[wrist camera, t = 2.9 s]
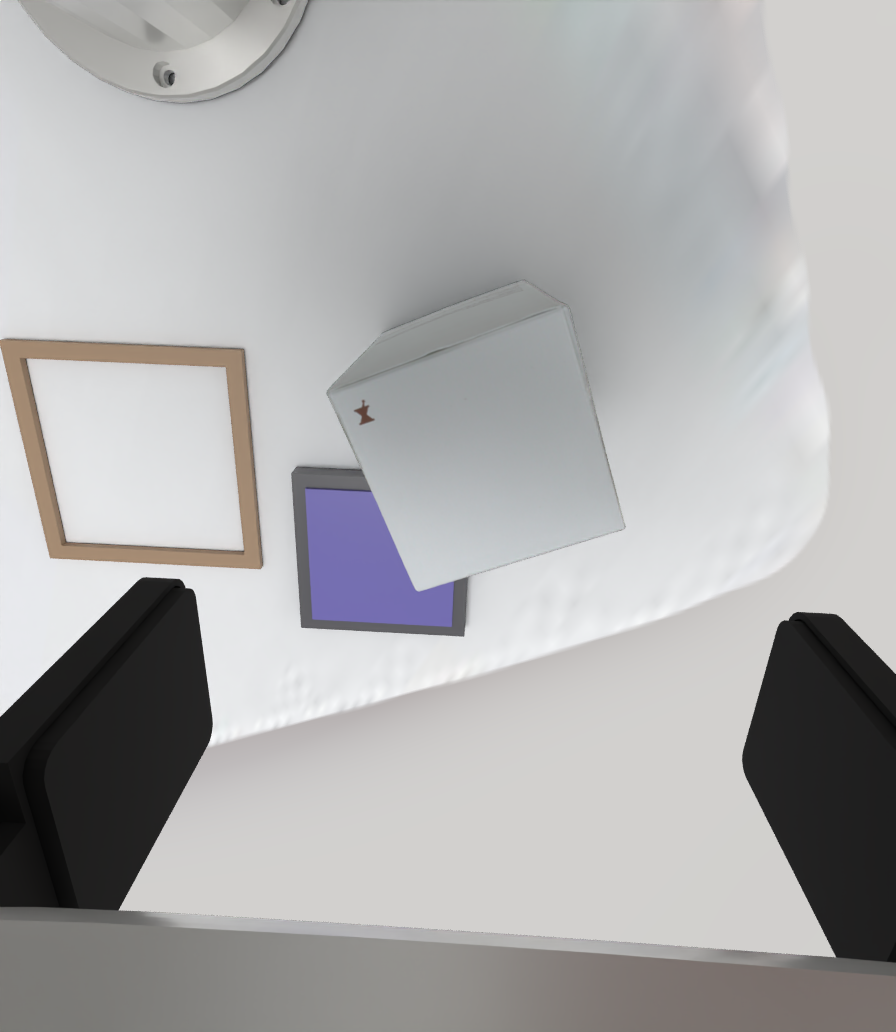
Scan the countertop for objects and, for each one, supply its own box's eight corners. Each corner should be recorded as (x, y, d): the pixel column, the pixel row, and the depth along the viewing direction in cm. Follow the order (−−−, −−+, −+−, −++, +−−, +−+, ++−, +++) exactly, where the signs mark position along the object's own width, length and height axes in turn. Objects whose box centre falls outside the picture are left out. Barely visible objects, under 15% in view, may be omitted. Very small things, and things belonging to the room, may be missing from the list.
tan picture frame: (4, 338, 31) (-1, 340, 30) (243, 349, 30) (240, 350, 30) (54, 554, 35) (50, 558, 35) (262, 565, 35) (260, 569, 35)
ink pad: (296, 467, 33) (290, 474, 32) (472, 475, 32) (472, 483, 31) (305, 617, 36) (300, 629, 35) (464, 626, 36) (464, 638, 35)
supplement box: (432, 472, 33) (407, 600, 21) (378, 330, 30) (316, 385, 18) (574, 427, 31) (631, 536, 20) (531, 274, 29) (568, 296, 17)
